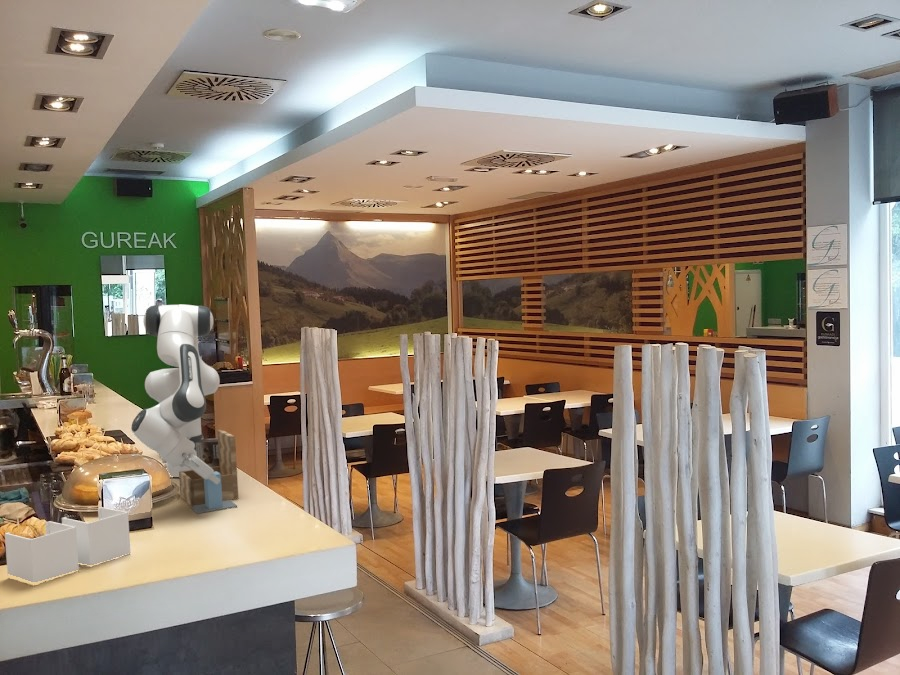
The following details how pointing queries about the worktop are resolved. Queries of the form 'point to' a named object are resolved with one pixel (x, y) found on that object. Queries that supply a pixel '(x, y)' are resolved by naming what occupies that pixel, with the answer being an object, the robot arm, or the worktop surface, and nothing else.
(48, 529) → the white twin bins
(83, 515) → the worktop surface
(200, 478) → the caddy
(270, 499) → the worktop surface
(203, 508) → the mat
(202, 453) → the grey brown upright frame
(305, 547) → the worktop surface
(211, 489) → the block
